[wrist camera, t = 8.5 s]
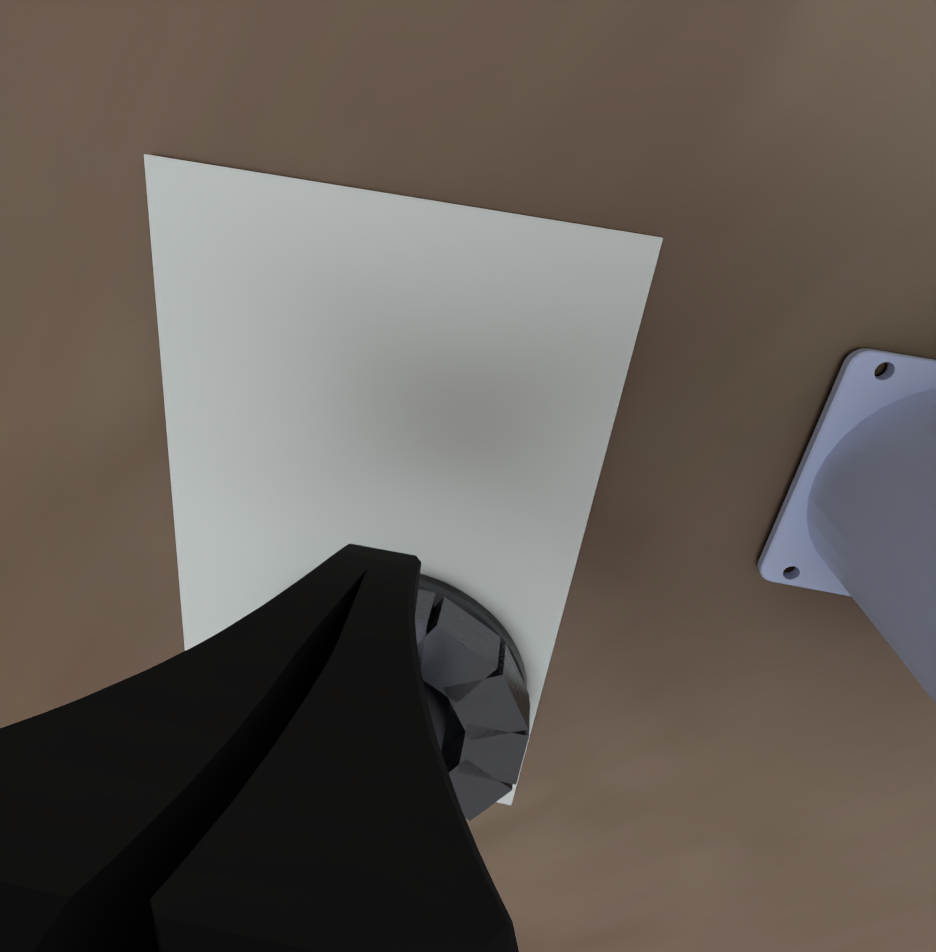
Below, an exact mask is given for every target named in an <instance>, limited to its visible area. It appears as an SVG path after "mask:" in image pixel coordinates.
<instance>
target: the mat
mask: <svg viewBox="0 0 936 952" xmlns="http://www.w3.org/2000/svg"><path fill="white" fill-rule="evenodd" d="M144 163H145V175H146V187H147V199H148V211H149V223H150V235H151V247H152V259H153V271H154V283H155V295H156V307H157V319H158V331H159V343H160V355H161V368H162V380H163V392H164V404H165V416H166V428H167V440H168V452H169V464H170V476H171V488H172V500H173V512H174V524H175V536H176V548H177V560H178V572H179V585H180V597H181V609H182V621H183V633H184V645H185V651H186V650H188V649H190V648H192V647H194V646H196V645H198V644H199V643H201V642H203V641H205V640H207V639H208V638H210V637H212V636H214V635H216V634H217V633H219V632H221V631H222V630H224V629H226V628H227V627H229V626H230V625H232V624H234V623H235V622H237V621H238V620H240V619H242V618H243V617H245V616H246V615H248V614H250V613H251V612H253V611H254V610H256V609H258V608H259V607H261V606H262V605H264V604H265V603H267V602H268V601H270V600H271V599H272V598H274V597H275V596H277V595H278V594H280V593H281V592H283V591H284V590H285V589H287V588H288V587H290V586H291V585H293V584H294V583H295V582H297V581H298V580H300V579H301V578H302V577H304V576H305V575H306V574H308V573H309V572H311V571H312V570H313V569H315V568H316V567H317V566H319V565H320V564H321V563H323V562H324V561H325V560H327V559H328V558H329V557H331V556H332V555H333V554H335V553H336V552H338V551H339V550H340V549H342V548H343V547H345V546H346V545H348V544H349V543H350V544H356V545H361V546H366V547H372V548H377V549H383V550H388V551H394V552H399V553H405V554H410V555H416V556H417V557H418V559H419V560H420V561H421V570H420V574H424V575H427V576H430V577H432V578H435V579H438V580H440V581H443V582H445V583H447V584H449V585H451V586H453V587H455V588H457V589H459V590H461V591H463V592H464V593H466V594H467V595H469V596H470V597H472V598H473V599H475V600H476V601H478V602H479V603H480V604H481V605H482V606H484V607H485V608H486V609H487V610H489V611H490V612H491V613H492V614H493V615H494V616H495V617H496V619H497V620H498V621H499V622H500V623H501V624H502V625H503V626H504V628H505V629H506V631H507V632H508V633H509V635H510V636H511V637H512V639H513V641H514V643H515V645H516V647H517V648H518V650H519V653H520V655H521V658H522V661H523V664H524V667H525V673H526V678H527V691H528V693H529V695H530V698H529V702H530V725H529V737H530V733H531V730H532V726H533V722H534V718H535V715H536V711H537V707H538V703H539V700H540V696H541V692H542V689H543V685H544V681H545V677H546V674H547V670H548V666H549V662H550V659H551V655H552V651H553V647H554V644H555V640H556V636H557V633H558V629H559V625H560V621H561V618H562V614H563V610H564V606H565V603H566V599H567V595H568V591H569V588H570V584H571V580H572V577H573V573H574V569H575V565H576V562H577V558H578V554H579V550H580V547H581V543H582V539H583V535H584V532H585V528H586V524H587V521H588V517H589V513H590V509H591V506H592V502H593V498H594V494H595V491H596V487H597V483H598V480H599V476H600V472H601V468H602V465H603V461H604V457H605V453H606V450H607V446H608V442H609V438H610V435H611V431H612V427H613V424H614V420H615V416H616V412H617V409H618V405H619V401H620V397H621V394H622V390H623V386H624V382H625V379H626V375H627V371H628V368H629V364H630V360H631V356H632V353H633V349H634V345H635V341H636V338H637V334H638V330H639V326H640V323H641V319H642V315H643V312H644V308H645V304H646V300H647V297H648V293H649V289H650V285H651V282H652V278H653V274H654V270H655V267H656V263H657V259H658V256H659V252H660V248H661V244H662V241H663V238H662V237H656V236H650V235H644V234H638V233H632V232H625V231H619V230H613V229H607V228H601V227H594V226H588V225H582V224H576V223H570V222H563V221H557V220H551V219H545V218H539V217H532V216H526V215H520V214H514V213H508V212H501V211H495V210H489V209H483V208H477V207H470V206H464V205H458V204H452V203H446V202H439V201H433V200H427V199H421V198H415V197H408V196H402V195H396V194H390V193H384V192H377V191H371V190H365V189H359V188H353V187H346V186H340V185H334V184H328V183H322V182H315V181H309V180H303V179H297V178H291V177H284V176H278V175H272V174H266V173H260V172H253V171H247V170H241V169H235V168H229V167H222V166H216V165H210V164H204V163H198V162H192V161H185V160H179V159H173V158H167V157H161V156H154V155H147V154H144ZM528 741H529V739H528ZM527 745H528V742H527ZM526 748H527V746H526ZM525 752H526V750H525ZM524 756H525V754H524ZM523 759H524V757H523ZM522 763H523V761H522ZM521 767H522V765H521ZM520 771H521V768H520ZM519 774H520V772H519ZM518 778H519V776H518ZM517 782H518V780H517ZM516 786H517V783H516V785H515V784H513V788H512V791H510V792H509V793H507V794H506V795H505V796H503V797H502V798H501V799H499V800H498V801H497V802H498V803H503V804H508V805H511V804H512V801H513V797H514V793H515V789H516Z"/></svg>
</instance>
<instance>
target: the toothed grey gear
mask: <svg viewBox="0 0 936 952" xmlns="http://www.w3.org/2000/svg"><path fill="white" fill-rule="evenodd" d="M415 626H416V639H417V647H418V655H419V661H420V667H421V673H422V678H423V680H424V681H425V682H427V683H428V684H430V685H431V686H432V687H434V688H435V689H437V690H438V691H440V692H441V693H443V694H444V695H446V696H447V697H448V699H449V701H450V708H449V713H448V718H447V723H446V729H445V734H444V739H443V744H442V750H441V753H442V756H443V759H444V762H445V765H446V767H447V770H448V773H449V776H450V779H451V781H452V784H453V787H454V790H455V793H456V795H457V798H458V801H459V804H460V807H461V809H462V812H463V814H464V817H465V818H467V819H468V820H470V821H471V820H472V819H473V818H475V817H476V816H477V815H479V814H480V813H481V812H483V811H484V810H486V809H487V808H488V807H490V806H491V805H492V804H494V803H495V802H497V801H498V800H499V799H501V798H502V797H503V796H505V795H506V794H507V793H509V792H510V791H512V788H513V784H515V785H516V783H517V780H518V776H519V772H520V768H521V765H522V761H523V757H524V754H525V750H526V746H527V742H528V739H529V725H530V702H529V698H530V695H529V693H528V691H527V678H526V673H525V667H524V664H523V661H522V658H521V655H520V653H519V650H518V648H517V647H516V645H515V643H514V641H513V639H512V637H511V636H510V635H509V633H508V632H507V631H506V629H505V628H504V626H503V625H502V624H501V623H500V622H499V621H498V620H497V619H496V617H495V616H494V615H493V614H492V613H491V612H490V611H489V610H487V609H486V608H485V607H484V606H482V605H481V604H480V603H479V602H478V601H476V600H475V599H473V598H472V597H470V596H469V595H467V594H466V593H464V592H463V591H461V590H459V589H457V588H455V587H453V586H451V585H449V584H447V583H445V582H443V581H440V580H438V579H435V578H432V577H430V576H427V575H424V574H420V579H419V587H418V596H417V604H416V613H415Z"/></svg>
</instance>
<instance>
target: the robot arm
mask: <svg viewBox="0 0 936 952" xmlns="http://www.w3.org/2000/svg"><path fill="white" fill-rule="evenodd" d="M883 362H887V364H888V366H887V370H886V371H885V372H884V374H882V375H880V376H876V377H875V375H874V372H875V369H876V368H877V366H878V365H880V364H881V363H883ZM790 566H795V568H794V570H793V571H791V572H789V573H783V571H784V570H785V569H786V568H788V567H790ZM757 567H758V570H759V572H760V574H761V576H762V577H763V578H764V579H766V580H768V581H771V582H776V583H782V584H787V585H792V586H798V587H803V588H808V589H814V590H819V591H824V592H830V593H835V594H840V595H845V596H851V597H852V598H853V599H854V601H855V602H856V603H857V604H858V606H859V607H860V608H861V609H862V611H863V612H864V613H865V615H866V616H867V617H868V618H869V620H870V621H871V622H872V623H873V625H874V626H875V627H876V629H877V630H878V631H879V632H880V634H881V635H882V636H883V638H884V639H885V640H886V641H887V643H888V644H889V645H890V646H891V648H892V649H893V650H894V652H895V653H896V654H897V655H898V657H899V658H900V659H901V660H902V662H903V663H904V664H905V666H906V667H907V668H908V669H909V671H910V672H911V673H912V674H913V676H914V677H915V678H916V680H917V681H918V682H919V683H920V685H921V686H922V687H923V689H924V690H925V691H926V692H927V694H928V695H929V696H930V697H931V699H932V700H933V701H934V703H935V704H936V360H935V359H929V358H923V357H917V356H911V355H905V354H899V353H893V352H888V351H882V350H876V349H870V348H861V349H858V350H856V351H853V352H852V353H851V354H849V355H848V356H847V358H846V359H845V361H844V362H843V364H842V367H841V369H840V371H839V374H838V376H837V378H836V381H835V383H834V385H833V388H832V390H831V393H830V395H829V397H828V400H827V402H826V404H825V407H824V409H823V411H822V414H821V416H820V418H819V421H818V423H817V425H816V428H815V430H814V432H813V435H812V437H811V439H810V442H809V444H808V446H807V449H806V451H805V453H804V456H803V458H802V460H801V463H800V465H799V467H798V470H797V472H796V474H795V477H794V479H793V481H792V484H791V486H790V488H789V491H788V493H787V495H786V498H785V500H784V502H783V505H782V507H781V509H780V512H779V514H778V516H777V519H776V521H775V523H774V526H773V528H772V530H771V533H770V535H769V537H768V540H767V542H766V544H765V547H764V549H763V552H762V554H761V556H760V559H759V561H758V565H757ZM420 570H421V561H420V560H419V559H418V557H417V556H416V555H410V554H405V553H399V552H394V551H388V550H383V549H377V548H372V547H366V546H361V545H356V544H350V543H349V544H348V545H346V546H345V547H343V548H342V549H340V550H339V551H338V552H336V553H335V554H333V555H332V556H331V557H329V558H328V559H327V560H325V561H324V562H323V563H321V564H320V565H319V566H317V567H316V568H315V569H313V570H312V571H311V572H309V573H308V574H306V575H305V576H304V577H302V578H301V579H300V580H298V581H297V582H295V583H294V584H293V585H291V586H290V587H288V588H287V589H285V590H284V591H283V592H281V593H280V594H278V595H277V596H275V597H274V598H272V599H271V600H270V601H268V602H267V603H265V604H264V605H262V606H261V607H259V608H258V609H256V610H254V611H253V612H251V613H250V614H248V615H246V616H245V617H243V618H242V619H240V620H238V621H237V622H235V623H234V624H232V625H230V626H229V627H227V628H226V629H224V630H222V631H221V632H219V633H217V634H216V635H214V636H212V637H210V638H208V639H207V640H205V641H203V642H201V643H199V644H198V645H196V646H194V647H192V648H190V649H188V650H186V651H184V652H182V653H180V654H178V655H176V656H174V657H172V658H170V659H168V660H166V661H164V662H163V663H160V664H158V665H156V666H154V667H152V668H150V669H148V670H146V671H143V672H141V673H139V674H136V675H134V676H132V677H130V678H127V679H125V680H123V681H120V682H118V683H116V684H113V685H111V686H109V687H107V688H104V689H102V690H100V691H97V692H95V693H93V694H90V695H88V696H86V697H84V698H81V699H79V700H76V701H74V702H71V703H69V704H66V705H63V706H61V707H58V708H55V709H53V710H50V711H48V712H45V713H42V714H40V715H37V716H34V717H32V718H29V719H26V720H23V721H20V722H17V723H14V724H12V725H9V726H6V727H3V728H0V952H519V951H518V946H517V942H516V937H515V932H514V927H513V923H512V920H511V918H510V916H509V914H508V912H507V910H506V908H505V906H504V904H503V902H502V900H501V898H500V895H499V893H498V891H497V889H496V887H495V885H494V883H493V881H492V879H491V877H490V874H489V872H488V870H487V868H486V866H485V864H484V861H483V859H482V857H481V855H480V853H479V850H478V848H477V846H476V843H475V841H474V838H473V836H472V834H471V831H470V829H469V826H468V824H467V822H466V819H465V817H464V814H463V812H462V809H461V807H460V804H459V801H458V798H457V795H456V793H455V790H454V787H453V784H452V781H451V779H450V776H449V773H448V770H447V767H446V765H445V762H444V759H443V756H442V753H441V750H440V746H439V743H438V739H437V736H436V733H435V729H434V726H433V722H432V718H431V714H430V710H429V706H428V702H427V698H426V693H425V689H424V683H423V678H422V673H421V667H420V661H419V655H418V647H417V639H416V626H415V613H416V604H417V596H418V587H419V579H420Z"/></svg>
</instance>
